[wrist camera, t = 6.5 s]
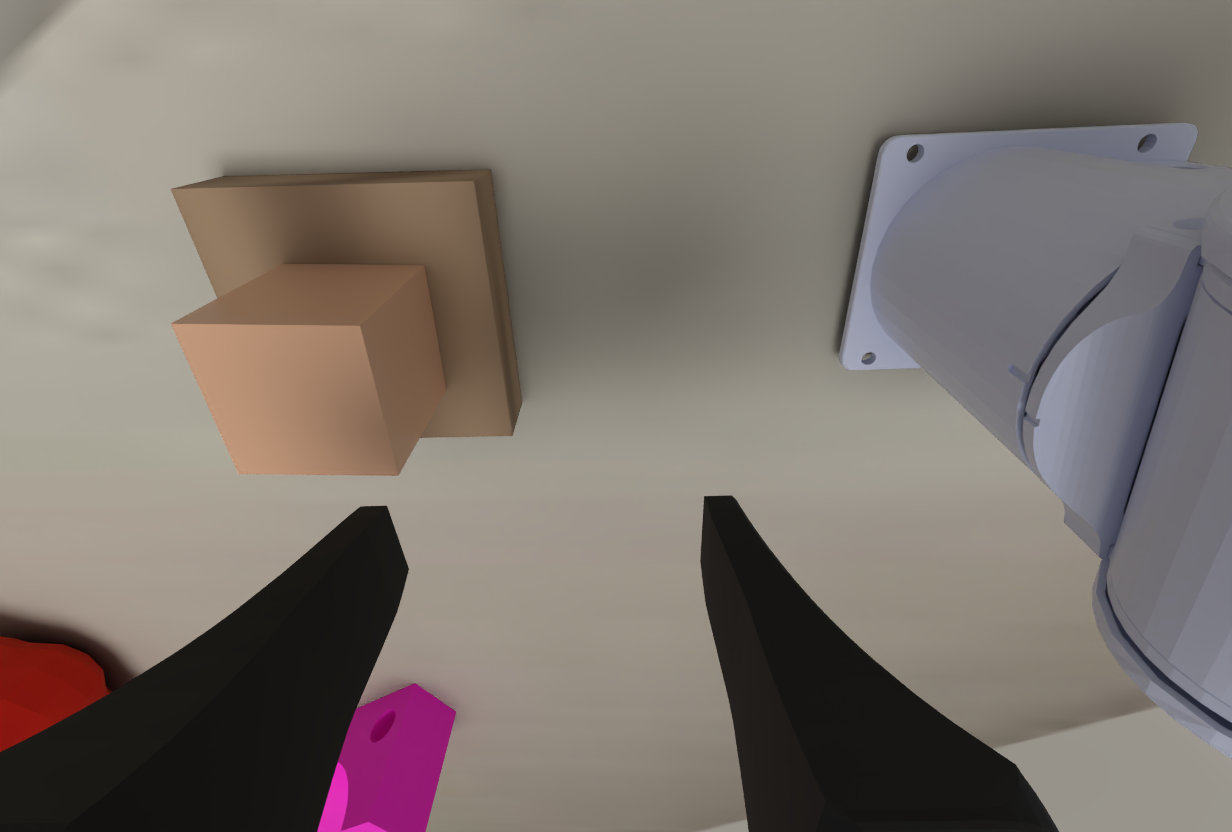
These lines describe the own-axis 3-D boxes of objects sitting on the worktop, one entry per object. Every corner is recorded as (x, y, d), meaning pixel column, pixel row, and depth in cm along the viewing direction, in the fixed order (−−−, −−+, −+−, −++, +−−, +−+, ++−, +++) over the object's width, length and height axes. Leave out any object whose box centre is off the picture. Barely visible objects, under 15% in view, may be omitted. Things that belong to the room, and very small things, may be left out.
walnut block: (493, 167, 18) (474, 181, 16) (523, 396, 23) (512, 435, 21) (232, 174, 19) (171, 189, 16) (315, 401, 23) (278, 440, 21)
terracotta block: (424, 265, 17) (360, 326, 13) (446, 389, 19) (398, 475, 15) (282, 263, 17) (170, 323, 13) (321, 388, 19) (238, 473, 15)
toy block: (328, 785, 41) (274, 916, 34) (259, 748, 38) (186, 884, 31) (482, 726, 36) (453, 864, 30) (416, 680, 33) (368, 821, 27)
